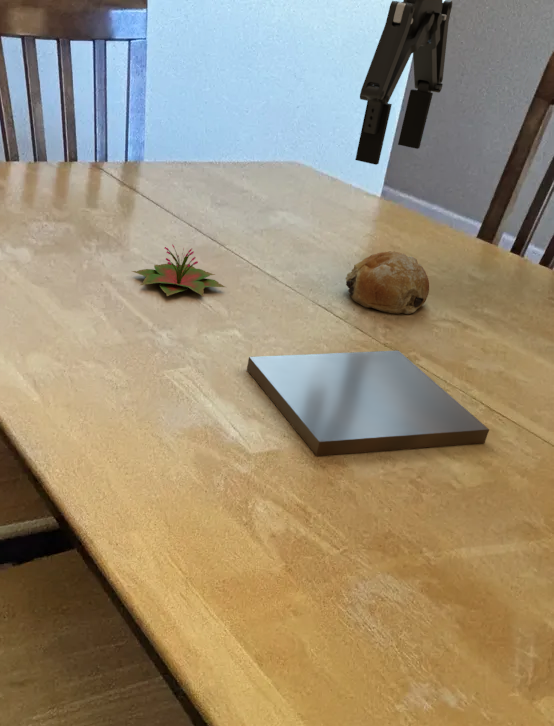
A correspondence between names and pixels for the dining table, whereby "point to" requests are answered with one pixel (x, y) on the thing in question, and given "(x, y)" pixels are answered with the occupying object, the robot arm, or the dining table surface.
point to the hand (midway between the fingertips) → (388, 154)
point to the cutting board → (363, 402)
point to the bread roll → (389, 283)
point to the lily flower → (178, 276)
